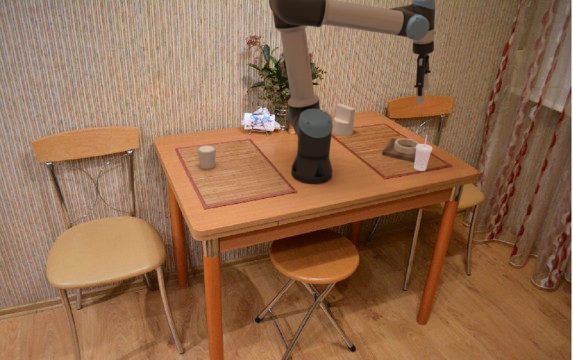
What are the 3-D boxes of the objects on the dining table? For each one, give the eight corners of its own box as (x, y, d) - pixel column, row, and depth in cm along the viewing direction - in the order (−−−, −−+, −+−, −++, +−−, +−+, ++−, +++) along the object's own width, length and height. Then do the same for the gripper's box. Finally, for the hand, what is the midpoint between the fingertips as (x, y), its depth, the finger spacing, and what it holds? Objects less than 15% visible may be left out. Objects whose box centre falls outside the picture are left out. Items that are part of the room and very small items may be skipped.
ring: (391, 150, 184) (392, 145, 182) (397, 141, 192) (398, 136, 190) (416, 156, 180) (417, 150, 179) (420, 147, 188) (421, 141, 187)
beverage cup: (428, 172, 171) (436, 139, 164) (412, 170, 172) (419, 137, 165) (427, 165, 176) (434, 132, 170) (411, 163, 177) (418, 130, 170)
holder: (382, 155, 183) (382, 151, 182) (391, 141, 196) (391, 138, 195) (421, 164, 177) (422, 160, 177) (428, 149, 190) (429, 145, 189)
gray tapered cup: (209, 159, 172) (208, 143, 169) (220, 166, 168) (219, 149, 165) (194, 164, 168) (193, 148, 165) (205, 171, 164) (204, 154, 160)
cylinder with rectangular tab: (328, 131, 203) (331, 105, 197) (341, 126, 208) (344, 101, 202) (343, 137, 197) (346, 111, 191) (356, 132, 203) (360, 107, 197)
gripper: (430, 51, 152) (428, 109, 163) (437, 31, 171) (436, 84, 182) (407, 51, 155) (407, 109, 165) (417, 32, 174) (416, 84, 185)
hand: (422, 96), depth 174 cm, fingers open, 13 cm apart
